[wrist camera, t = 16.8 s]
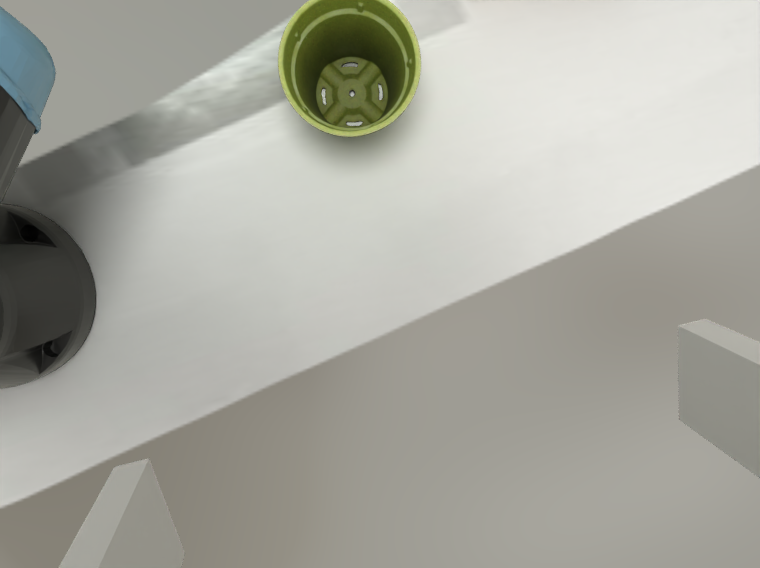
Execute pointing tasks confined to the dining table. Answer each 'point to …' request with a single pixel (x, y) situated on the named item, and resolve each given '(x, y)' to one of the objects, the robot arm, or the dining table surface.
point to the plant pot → (342, 45)
